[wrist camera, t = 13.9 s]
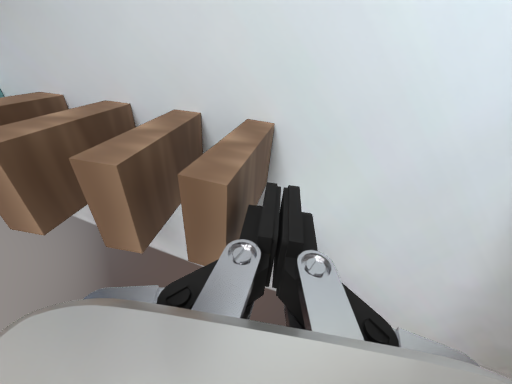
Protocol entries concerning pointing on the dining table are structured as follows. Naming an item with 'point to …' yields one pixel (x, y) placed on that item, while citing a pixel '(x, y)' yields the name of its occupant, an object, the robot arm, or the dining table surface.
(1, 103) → the tile
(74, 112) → the tile
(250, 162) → the tile
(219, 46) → the dining table surface
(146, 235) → the tile
